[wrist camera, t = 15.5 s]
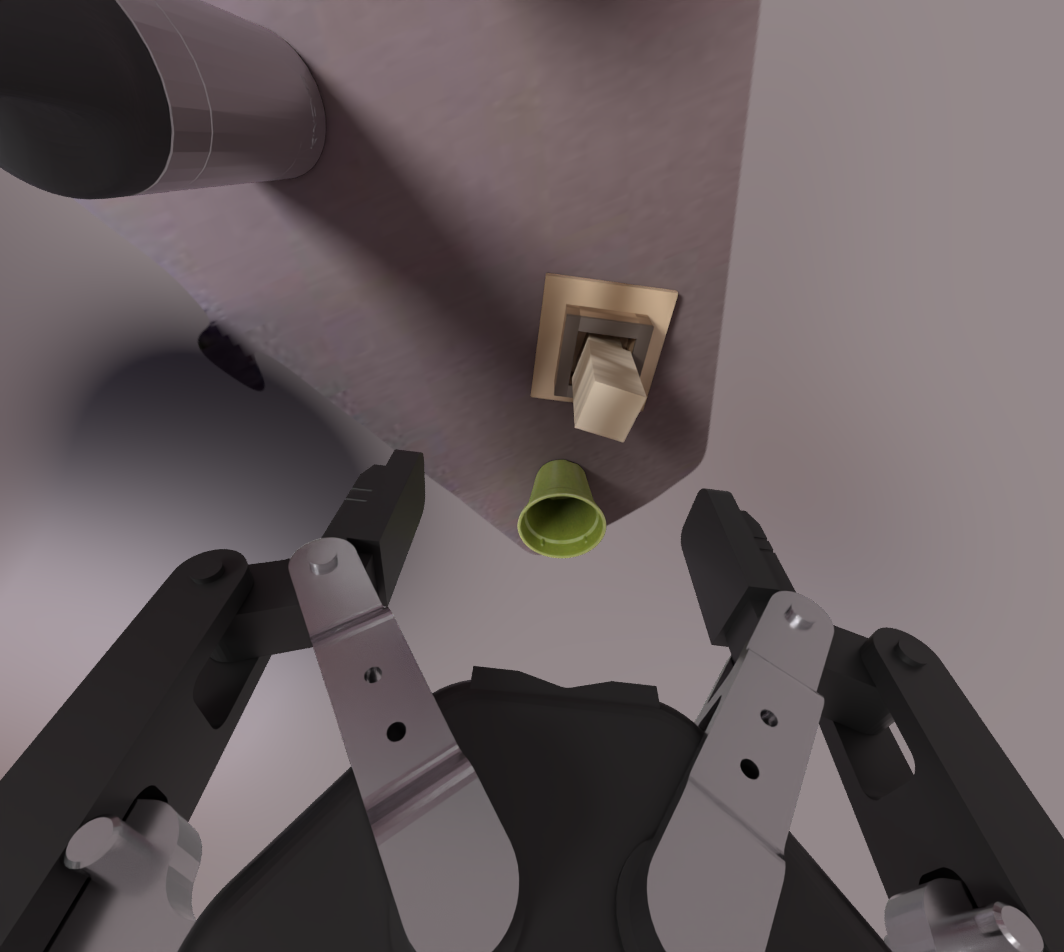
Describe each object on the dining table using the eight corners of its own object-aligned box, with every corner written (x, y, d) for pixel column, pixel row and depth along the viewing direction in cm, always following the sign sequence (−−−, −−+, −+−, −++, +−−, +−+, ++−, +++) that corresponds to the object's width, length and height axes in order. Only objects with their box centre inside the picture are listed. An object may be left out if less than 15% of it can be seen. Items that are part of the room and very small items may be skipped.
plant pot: (611, 494, 55) (618, 544, 48) (543, 517, 58) (540, 567, 51) (582, 435, 50) (586, 481, 43) (509, 464, 53) (501, 511, 46)
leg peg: (571, 361, 44) (574, 427, 33) (585, 323, 42) (594, 381, 31) (608, 373, 44) (623, 442, 34) (625, 336, 42) (646, 397, 32)
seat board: (530, 392, 47) (528, 412, 44) (546, 272, 40) (544, 284, 36) (641, 406, 48) (648, 428, 44) (676, 290, 40) (687, 304, 37)
